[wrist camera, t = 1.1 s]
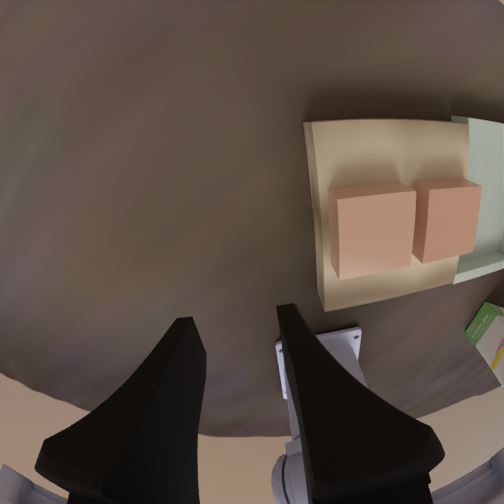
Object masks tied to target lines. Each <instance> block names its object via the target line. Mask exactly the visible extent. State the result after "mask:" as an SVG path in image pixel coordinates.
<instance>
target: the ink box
mask: <svg viewBox="0 0 504 504" xmlns="http://www.w3.org/2000/svg"><path fill="white" fill-rule="evenodd" d="M465 333H466V334H467V335H468V337H469V338H470V339H471V341H472V342H473V343H474V345H475V346H476V348H477V349H478V350H479V352H480V353H481V355H482V356H483V357H484V359H485V360H486V362H487V363H488V365H489V366H490V368H491V369H492V371H493V372H494V374H495V375H496V377H497V378H498V380H499V382H500V383H501V385H502V386H503V388H504V308H502V307H499V306H497V305H494V304H491V303H488V302H484V304H483V305H482V307H481V308H480V310H479V312H478V313H477V315H476V316H475V318H474V319H473V321H472V322H471V323H470V325H469V327H468V328H467V330H466V331H465Z"/></svg>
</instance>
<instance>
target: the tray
mask: <svg viewBox="0 0 504 504" xmlns="http://www.w3.org/2000/svg"><path fill="white" fill-rule="evenodd" d="M451 122H457V123H463V124H469V181H472V182H474V183H476V184H478V185H480V186H482V190H481V201H480V210H479V217H478V224H477V231H476V237H475V242H474V248H473V252H472V253H467V254H463V255H459V260H458V265H457V269H456V274H455V278H454V282H452V284H456V283H459V282H463V281H466V280H469V279H473V278H476V277H479V276H482V275H485V274H488V273H491V272H494V271H497V270H500V269H503V268H504V124H503V123H498V122H493V121H487V120H481V119H475V118H468V117H460V116H452V115H451Z"/></svg>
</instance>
